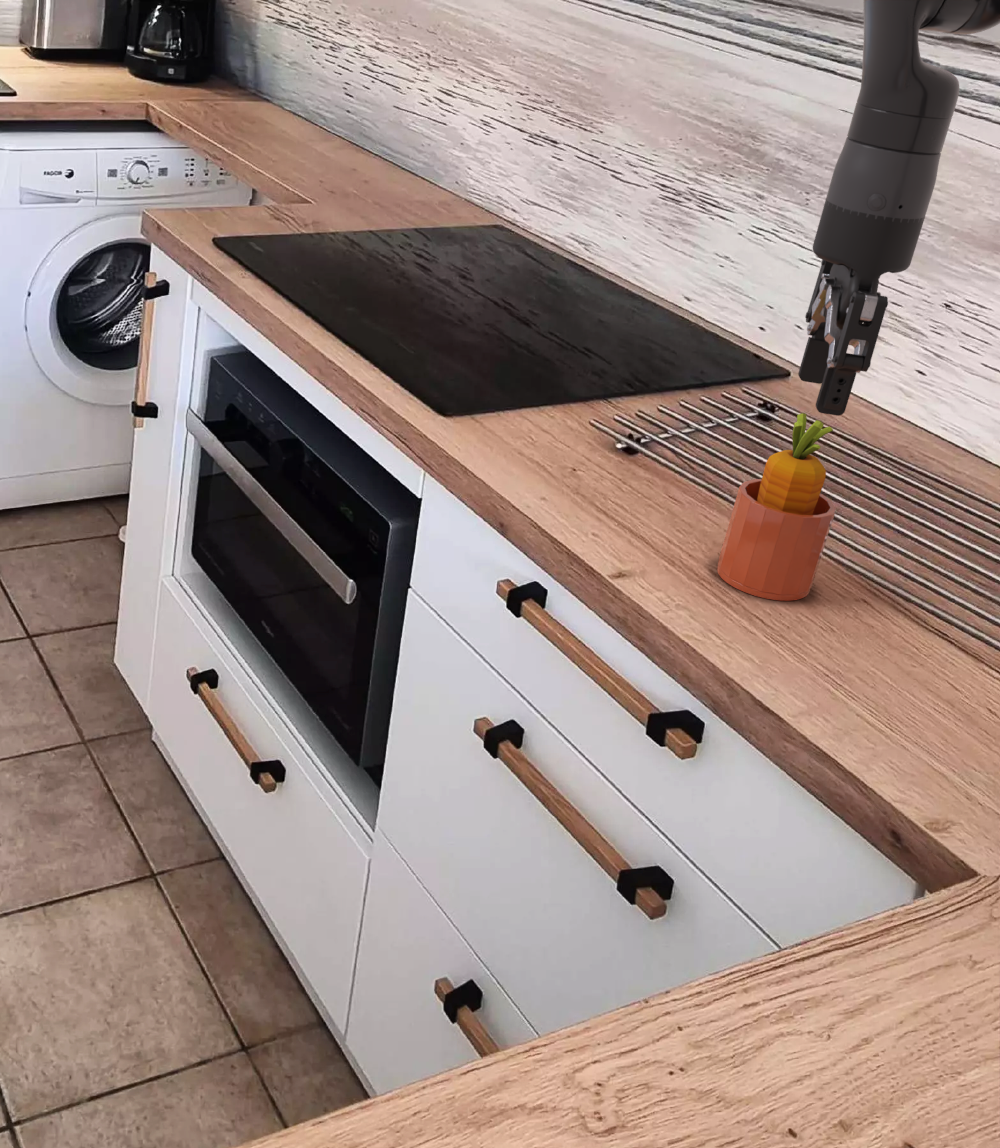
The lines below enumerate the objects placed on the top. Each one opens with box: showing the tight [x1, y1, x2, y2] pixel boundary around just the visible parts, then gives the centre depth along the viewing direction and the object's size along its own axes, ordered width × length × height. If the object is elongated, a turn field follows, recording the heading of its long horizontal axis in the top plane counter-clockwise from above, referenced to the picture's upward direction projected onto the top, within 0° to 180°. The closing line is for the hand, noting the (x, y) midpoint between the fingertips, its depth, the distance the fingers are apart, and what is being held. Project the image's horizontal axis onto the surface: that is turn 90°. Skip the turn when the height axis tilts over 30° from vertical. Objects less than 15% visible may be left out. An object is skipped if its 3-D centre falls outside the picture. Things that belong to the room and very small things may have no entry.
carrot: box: [757, 412, 834, 515], centre depth 130 cm, size 5×5×15 cm
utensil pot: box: [716, 478, 837, 602], centre depth 132 cm, size 8×8×8 cm
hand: (819, 396), depth 126 cm, fingers open, 8 cm apart
